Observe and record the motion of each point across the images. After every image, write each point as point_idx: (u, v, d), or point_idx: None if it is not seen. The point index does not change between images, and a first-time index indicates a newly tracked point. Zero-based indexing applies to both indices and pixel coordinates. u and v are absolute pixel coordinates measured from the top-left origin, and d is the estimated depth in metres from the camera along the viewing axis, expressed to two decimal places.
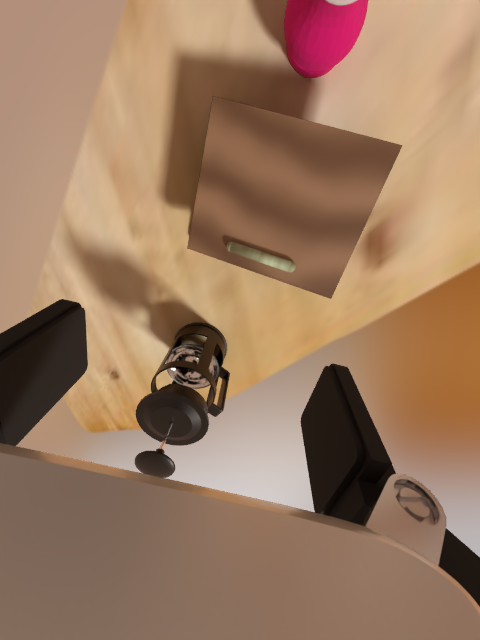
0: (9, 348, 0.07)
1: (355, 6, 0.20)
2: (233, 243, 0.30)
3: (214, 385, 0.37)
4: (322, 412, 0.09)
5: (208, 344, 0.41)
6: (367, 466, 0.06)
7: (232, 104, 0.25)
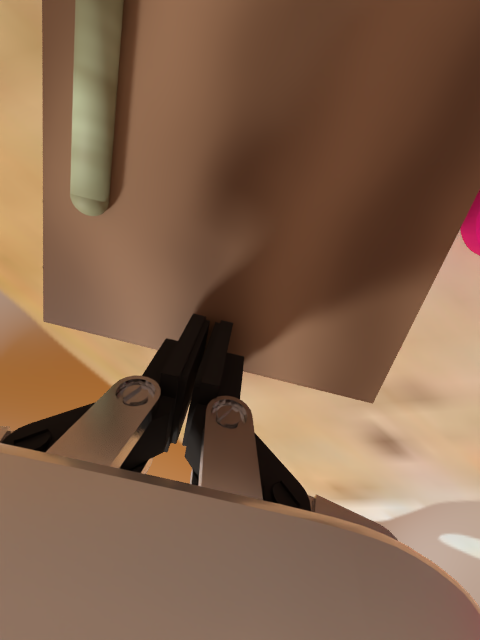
0: (188, 359, 0.08)
1: None
2: None
3: None
4: None
5: None
6: (200, 389, 0.07)
7: None
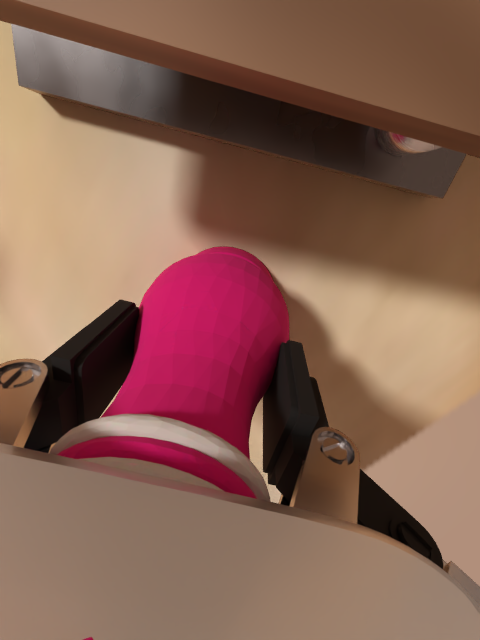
0: (92, 343, 0.08)
1: (132, 367, 0.08)
2: None
3: None
4: (276, 383, 0.10)
5: None
6: (298, 420, 0.07)
7: None
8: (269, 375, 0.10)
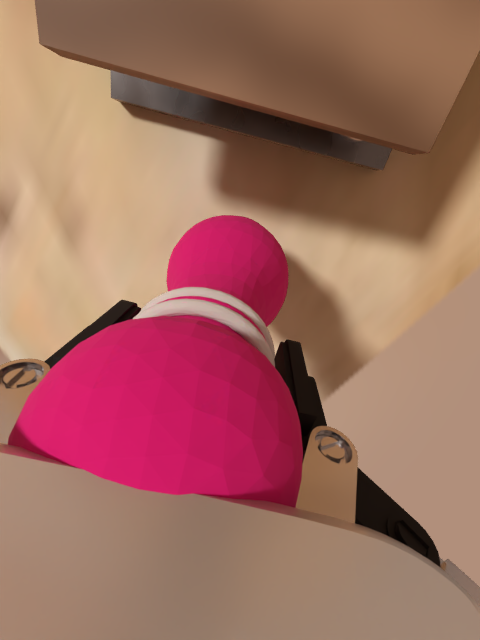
0: None
1: (175, 287, 0.11)
2: None
3: None
4: None
5: None
6: None
7: (390, 135, 0.12)
8: (272, 303, 0.13)
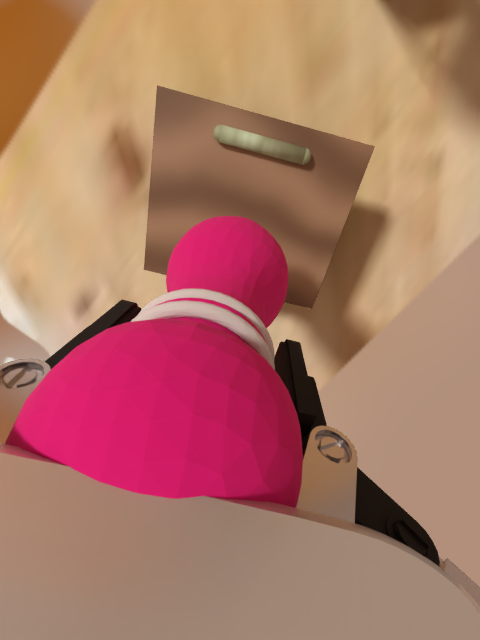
0: None
1: (174, 288, 0.11)
2: (300, 162, 0.22)
3: None
4: None
5: None
6: None
7: (294, 302, 0.28)
8: (272, 304, 0.13)
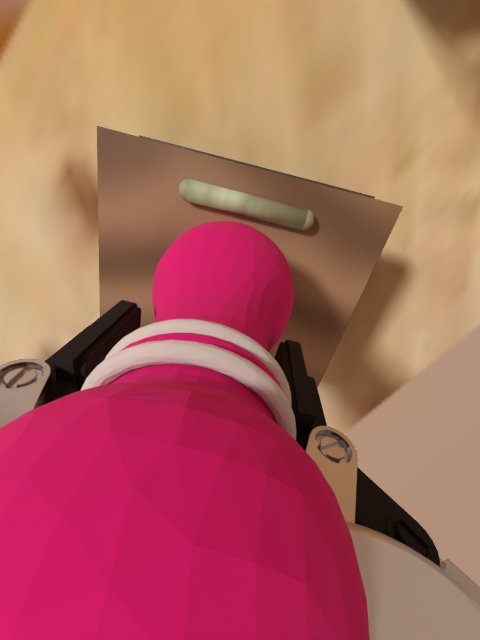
0: (94, 343, 0.08)
1: (160, 310, 0.09)
2: (299, 228, 0.16)
3: None
4: None
5: None
6: (296, 419, 0.07)
7: None
8: (278, 324, 0.11)
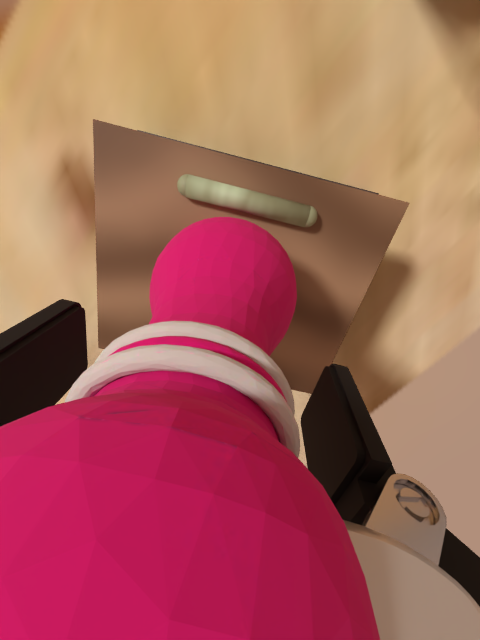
0: (9, 348, 0.07)
1: (156, 310, 0.09)
2: (301, 225, 0.15)
3: None
4: (322, 412, 0.09)
5: None
6: (367, 466, 0.06)
7: (293, 387, 0.22)
8: (281, 325, 0.11)
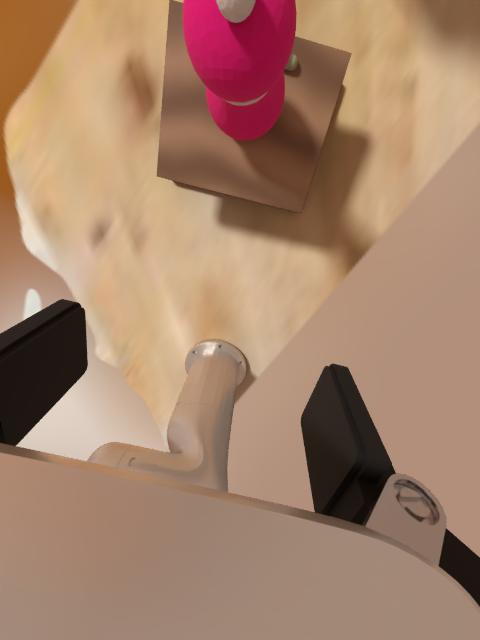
0: (9, 348, 0.07)
1: None
2: (288, 67, 0.26)
3: None
4: (322, 412, 0.09)
5: None
6: (367, 466, 0.06)
7: (285, 206, 0.33)
8: (276, 82, 0.22)
